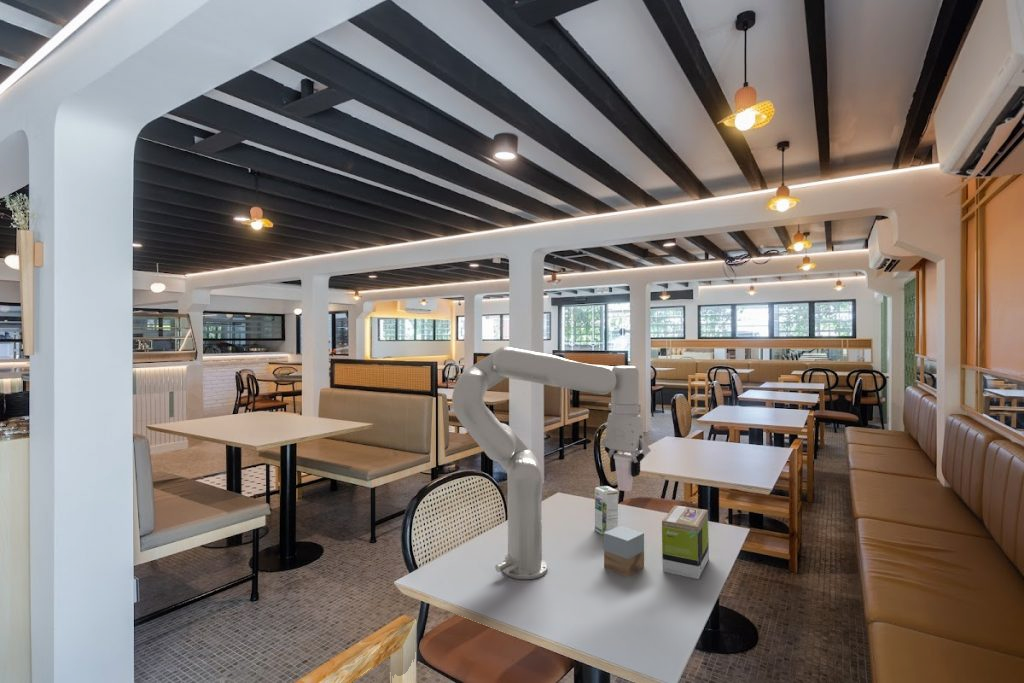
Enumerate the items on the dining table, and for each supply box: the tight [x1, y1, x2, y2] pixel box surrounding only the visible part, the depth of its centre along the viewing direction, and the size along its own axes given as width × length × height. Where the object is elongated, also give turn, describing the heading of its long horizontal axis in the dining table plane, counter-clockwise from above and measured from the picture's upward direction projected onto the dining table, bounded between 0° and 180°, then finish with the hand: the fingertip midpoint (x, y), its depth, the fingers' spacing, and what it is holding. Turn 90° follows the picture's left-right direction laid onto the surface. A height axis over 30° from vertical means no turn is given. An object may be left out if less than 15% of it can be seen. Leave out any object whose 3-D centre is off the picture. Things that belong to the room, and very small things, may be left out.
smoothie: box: [613, 451, 634, 492], centre depth 147 cm, size 6×6×14 cm
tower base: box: [603, 550, 645, 578], centre depth 147 cm, size 8×8×5 cm
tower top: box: [603, 525, 645, 559], centre depth 147 cm, size 8×8×5 cm
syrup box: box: [594, 485, 619, 537], centre depth 173 cm, size 6×6×14 cm
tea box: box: [661, 504, 710, 580], centre depth 148 cm, size 15×10×15 cm, turn 149°
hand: (624, 472), depth 147 cm, fingers closed on smoothie, 6 cm apart
